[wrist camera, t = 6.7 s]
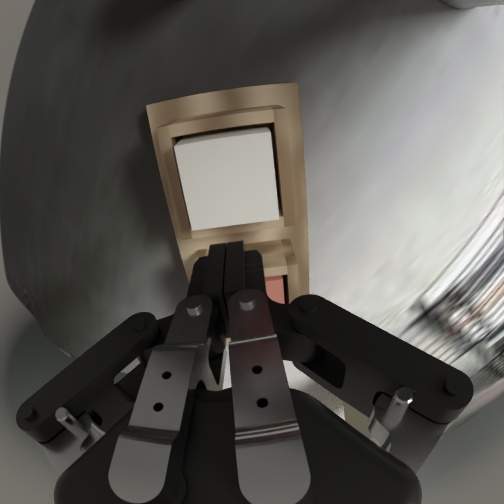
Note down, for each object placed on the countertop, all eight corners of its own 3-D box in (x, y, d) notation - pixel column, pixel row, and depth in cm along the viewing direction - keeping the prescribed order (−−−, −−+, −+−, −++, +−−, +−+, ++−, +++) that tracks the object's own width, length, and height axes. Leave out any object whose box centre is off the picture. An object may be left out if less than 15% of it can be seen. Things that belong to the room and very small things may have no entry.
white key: (266, 126, 23) (270, 131, 20) (275, 205, 26) (279, 219, 24) (181, 139, 23) (173, 146, 20) (196, 215, 27) (192, 230, 24)
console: (293, 82, 25) (309, 81, 20) (306, 306, 40) (316, 345, 34) (151, 104, 26) (127, 110, 20) (204, 318, 40) (200, 358, 34)
